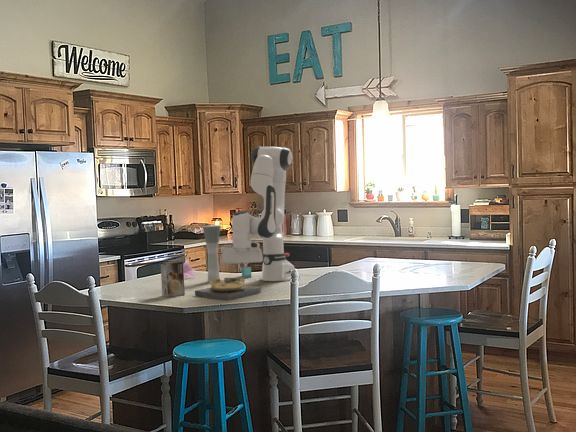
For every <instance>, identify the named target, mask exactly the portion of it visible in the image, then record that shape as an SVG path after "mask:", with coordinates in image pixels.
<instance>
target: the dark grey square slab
mask: <svg viewBox="0 0 576 432" xmlns="http://www.w3.org/2000/svg"><path fill="white" fill-rule="evenodd" d="M261 291H262V290H261V287H258V286H250V285H249V286H248V285H245V288H244V289H242V290H237V291H212V290H211V287H207V288H203V289H202V288H201V289H198V290H197V289H196V290H194V296H195V297H201V298H207V299H213V300H214V299H216V300H224V301H230V300H231V301H232V300H235V299H240V298H245V297H249V296H253V295H257V294H261Z"/></svg>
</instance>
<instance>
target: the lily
mask: <svg viewBox="0 0 576 432" xmlns="http://www.w3.org/2000/svg"><path fill="white" fill-rule="evenodd" d="M190 265H191V264H190V261H189V260H188V259H186V260H185V262H183V273H184V281H185V280H186V279H187V278H188V277H190V278H193V279H196V276H195V274H194V271H195V269H196V268H194V267H192V266H190Z"/></svg>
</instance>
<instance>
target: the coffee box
mask: <svg viewBox="0 0 576 432" xmlns="http://www.w3.org/2000/svg"><path fill="white" fill-rule="evenodd" d="M183 264H184V262H183V261H179V260H174V261H167V262H166V261H165V262H160V277H161V294H162V297H165V298H170V297H171V298H172V297H177V296H185V294H186V293H185V291H186V290H185V280H184V273H183Z"/></svg>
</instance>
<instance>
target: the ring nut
mask: <svg viewBox="0 0 576 432" xmlns="http://www.w3.org/2000/svg"><path fill="white" fill-rule="evenodd" d="M241 268H242V272H241V276H234V277H224V279H221V278H220V279H214V281H210V288H211V290H212V291H237V290H242V289H244V288H245V286H246V285H245V280H247V279H250V278H251V279H252V267H251V266H248V267H247V266H246V267H245V268H243V267H241Z"/></svg>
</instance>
